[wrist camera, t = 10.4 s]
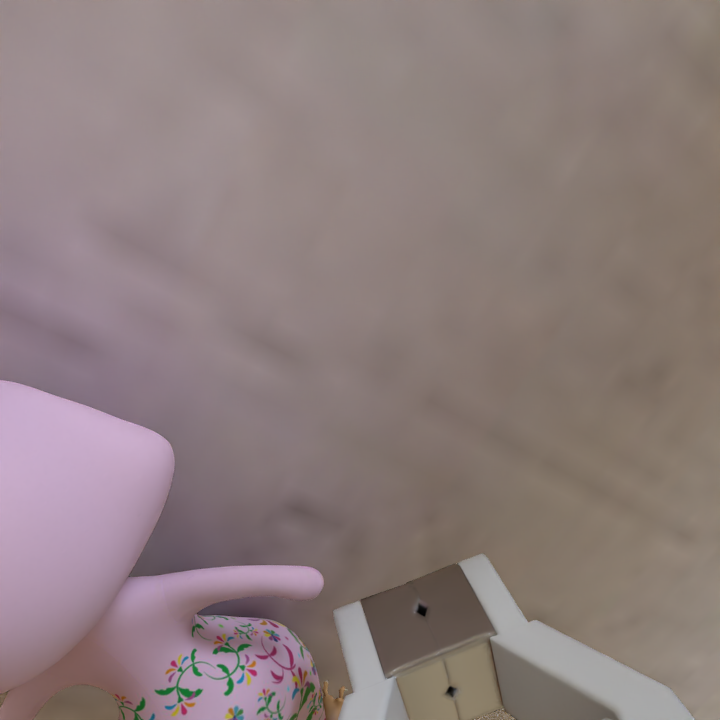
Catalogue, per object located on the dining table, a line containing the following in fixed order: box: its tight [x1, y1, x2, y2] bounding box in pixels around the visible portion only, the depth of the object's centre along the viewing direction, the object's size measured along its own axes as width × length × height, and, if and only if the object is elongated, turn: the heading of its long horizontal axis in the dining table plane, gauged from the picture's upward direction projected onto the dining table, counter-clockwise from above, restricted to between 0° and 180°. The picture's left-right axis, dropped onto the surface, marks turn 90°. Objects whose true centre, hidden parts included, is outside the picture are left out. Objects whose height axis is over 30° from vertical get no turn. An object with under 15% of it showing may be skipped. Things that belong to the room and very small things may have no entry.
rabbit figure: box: [0, 380, 348, 720], centre depth 8 cm, size 6×6×15 cm
